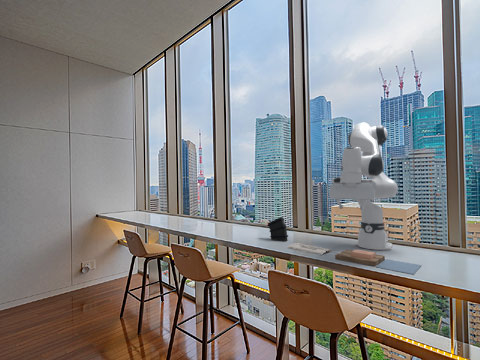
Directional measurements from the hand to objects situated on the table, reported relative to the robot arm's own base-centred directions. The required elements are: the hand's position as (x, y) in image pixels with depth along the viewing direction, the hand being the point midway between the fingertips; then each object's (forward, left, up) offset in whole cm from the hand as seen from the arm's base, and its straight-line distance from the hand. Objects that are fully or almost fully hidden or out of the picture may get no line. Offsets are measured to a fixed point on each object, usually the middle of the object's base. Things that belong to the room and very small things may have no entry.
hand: (351, 209), depth 127 cm
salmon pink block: (-4, +4, -22) cm, 23 cm away
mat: (-5, +18, -24) cm, 31 cm away
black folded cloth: (-16, -54, -25) cm, 62 cm away
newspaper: (-7, -26, -25) cm, 37 cm away
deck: (-5, +2, -24) cm, 25 cm away
